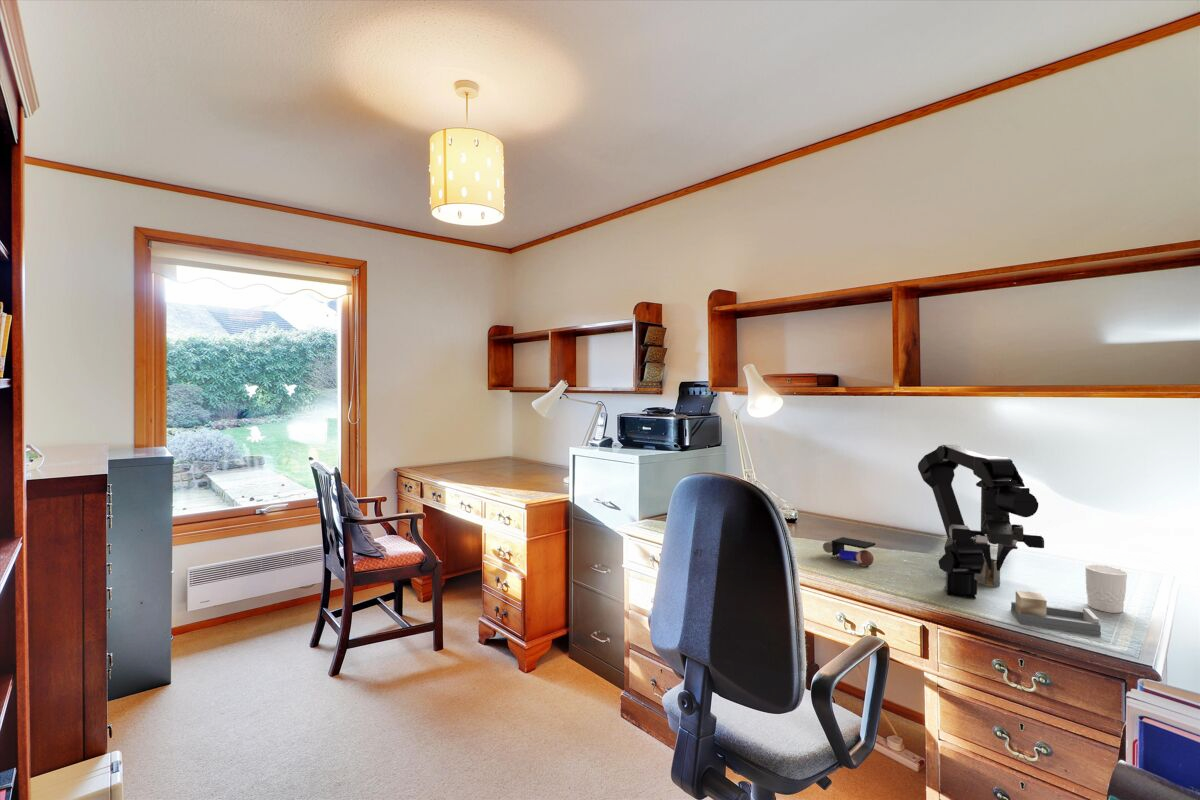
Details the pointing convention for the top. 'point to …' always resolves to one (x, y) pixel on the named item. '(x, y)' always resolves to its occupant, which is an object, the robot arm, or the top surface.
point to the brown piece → (989, 575)
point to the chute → (1062, 620)
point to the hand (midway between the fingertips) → (994, 570)
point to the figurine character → (838, 549)
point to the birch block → (1030, 603)
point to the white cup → (1105, 588)
